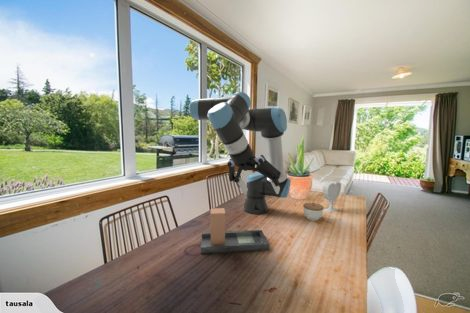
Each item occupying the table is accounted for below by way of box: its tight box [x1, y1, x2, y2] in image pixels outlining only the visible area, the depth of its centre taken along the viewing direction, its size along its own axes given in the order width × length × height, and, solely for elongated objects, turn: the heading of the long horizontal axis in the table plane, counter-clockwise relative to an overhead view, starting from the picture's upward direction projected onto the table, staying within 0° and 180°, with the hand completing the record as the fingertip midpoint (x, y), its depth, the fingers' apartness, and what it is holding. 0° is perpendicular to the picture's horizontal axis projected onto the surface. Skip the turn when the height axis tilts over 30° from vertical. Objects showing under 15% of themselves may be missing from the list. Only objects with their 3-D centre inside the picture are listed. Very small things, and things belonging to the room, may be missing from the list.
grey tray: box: [200, 229, 270, 254], centre depth 94 cm, size 28×13×2 cm, turn 97°
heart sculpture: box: [322, 180, 342, 214], centre depth 137 cm, size 16×5×18 cm, turn 126°
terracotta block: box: [210, 207, 226, 245], centre depth 93 cm, size 6×6×14 cm
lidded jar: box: [303, 202, 324, 222], centre depth 123 cm, size 11×11×9 cm
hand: (261, 191), depth 82 cm, fingers open, 13 cm apart
